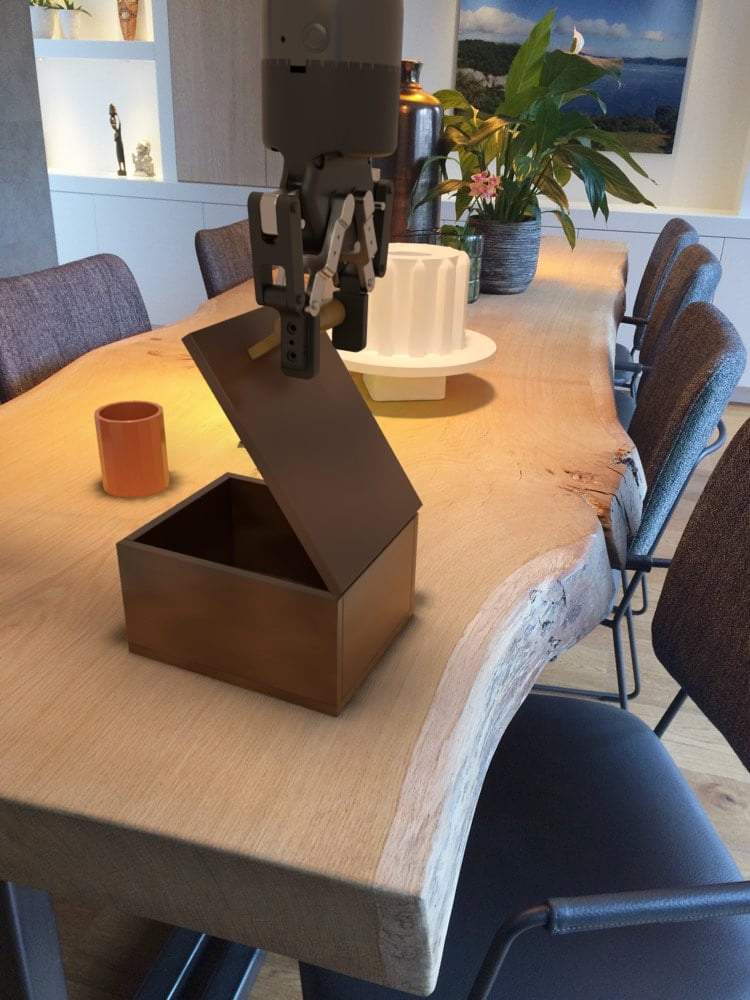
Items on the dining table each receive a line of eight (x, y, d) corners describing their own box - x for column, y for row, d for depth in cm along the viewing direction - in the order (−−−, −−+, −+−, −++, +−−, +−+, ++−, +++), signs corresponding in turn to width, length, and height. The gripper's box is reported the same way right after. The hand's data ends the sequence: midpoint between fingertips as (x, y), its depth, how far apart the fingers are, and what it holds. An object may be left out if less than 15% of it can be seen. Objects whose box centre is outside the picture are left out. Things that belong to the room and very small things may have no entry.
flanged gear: (323, 422, 103) (323, 267, 95) (306, 366, 126) (305, 236, 118) (515, 416, 107) (530, 267, 99) (466, 363, 130) (475, 237, 121)
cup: (94, 507, 80) (82, 419, 76) (120, 481, 86) (110, 398, 82) (157, 512, 80) (148, 424, 76) (179, 485, 85) (172, 402, 81)
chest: (128, 651, 59) (115, 543, 56) (232, 566, 71) (227, 471, 67) (336, 717, 53) (337, 601, 50) (413, 613, 65) (418, 512, 61)
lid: (180, 339, 47) (240, 297, 44) (296, 296, 58) (349, 261, 56) (332, 597, 50) (398, 572, 47) (414, 508, 61) (471, 484, 58)
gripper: (329, 63, 51) (324, 330, 59) (193, 45, 39) (208, 383, 47) (442, 66, 49) (423, 345, 56) (334, 49, 37) (327, 406, 44)
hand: (325, 361), depth 51 cm, fingers closed on lid, 6 cm apart
